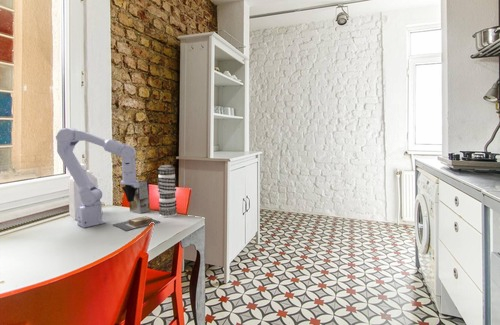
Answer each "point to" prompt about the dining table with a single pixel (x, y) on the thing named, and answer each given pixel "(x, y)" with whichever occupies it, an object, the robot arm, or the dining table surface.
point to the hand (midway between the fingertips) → (130, 201)
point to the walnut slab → (140, 221)
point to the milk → (77, 193)
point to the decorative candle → (167, 191)
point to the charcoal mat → (128, 227)
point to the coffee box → (141, 198)
